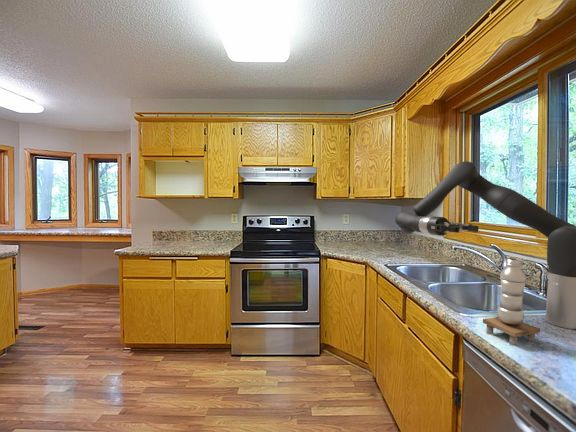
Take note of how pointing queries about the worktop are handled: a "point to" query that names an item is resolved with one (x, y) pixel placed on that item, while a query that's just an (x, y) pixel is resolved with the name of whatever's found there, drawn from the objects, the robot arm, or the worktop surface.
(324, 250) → the worktop surface
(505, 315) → the plastic bottle
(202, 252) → the worktop surface
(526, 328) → the pegged shelf
